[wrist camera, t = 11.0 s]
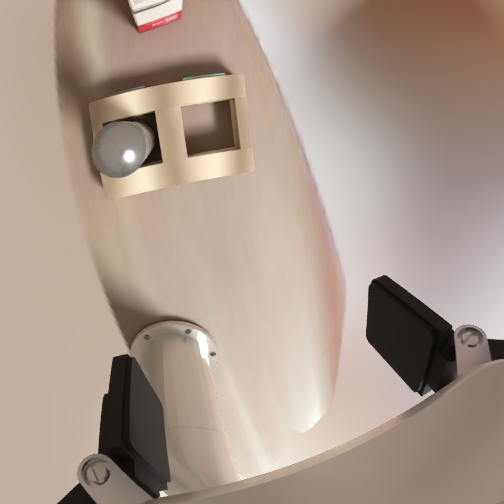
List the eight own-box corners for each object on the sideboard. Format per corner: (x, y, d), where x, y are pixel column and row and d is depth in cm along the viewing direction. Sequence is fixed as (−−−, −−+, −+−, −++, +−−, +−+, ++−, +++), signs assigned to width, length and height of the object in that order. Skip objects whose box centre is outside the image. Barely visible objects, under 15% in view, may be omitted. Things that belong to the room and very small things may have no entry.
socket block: (236, 75, 28) (242, 71, 25) (247, 166, 32) (254, 171, 29) (95, 102, 25) (87, 100, 22) (112, 194, 29) (106, 201, 27)
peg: (145, 165, 29) (132, 186, 19) (112, 152, 28) (83, 167, 18) (161, 130, 28) (155, 133, 18) (127, 117, 27) (104, 113, 17)
